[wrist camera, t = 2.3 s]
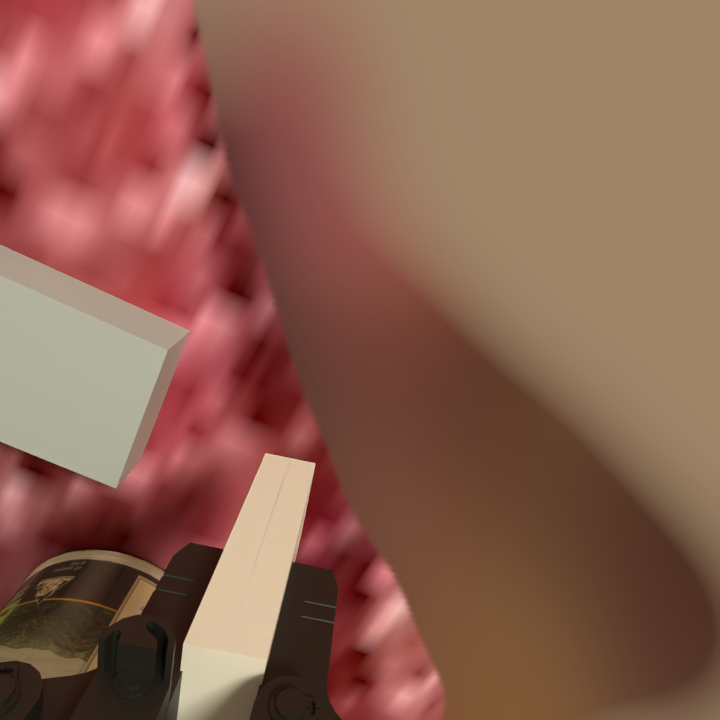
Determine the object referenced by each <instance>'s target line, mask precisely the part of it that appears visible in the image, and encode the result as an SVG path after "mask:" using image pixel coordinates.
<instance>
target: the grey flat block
mask: <svg viewBox="0 0 720 720" xmlns="http://www.w3.org/2000/svg"><path fill="white" fill-rule="evenodd" d="M189 333H190V331H189V330H187V329H185V328H182V327H180V326H178V325H176V324H174V323H171V322H169V321H167V320H165V319H163V318H160V317H158V316H156V315H154V314H152V313H149V312H147V311H145V310H143V309H141V308H138V307H136V306H134V305H132V304H130V303H127V302H125V301H123V300H121V299H119V298H116V297H114V296H112V295H110V294H108V293H105V292H103V291H101V290H99V289H97V288H94V287H92V286H90V285H88V284H86V283H83V282H81V281H79V280H77V279H75V278H72V277H70V276H68V275H66V274H64V273H61V272H59V271H57V270H55V269H53V268H50V267H48V266H46V265H44V264H42V263H40V262H37V261H35V260H33V259H31V258H29V257H26V256H24V255H22V254H20V253H18V252H15V251H13V250H11V249H9V248H7V247H4V246H2V245H0V442H3V443H5V444H7V445H10V446H12V447H15V448H17V449H20V450H22V451H25V452H27V453H30V454H32V455H34V456H37V457H39V458H42V459H44V460H47V461H49V462H52V463H54V464H57V465H59V466H61V467H64V468H66V469H69V470H71V471H74V472H76V473H79V474H81V475H84V476H86V477H88V478H91V479H93V480H96V481H98V482H101V483H103V484H106V485H108V486H111V487H113V488H115V489H116V488H117V487H118V486H119V484H120V483H121V482H122V481H123V480H124V478H125V477H126V476H127V475H128V473H129V472H130V471H131V470H132V469H133V467H134V466H135V465H136V464H137V463H138V461H139V460H140V459H141V458H142V455H143V453H144V450H145V447H146V445H147V442H148V440H149V437H150V434H151V432H152V429H153V427H154V424H155V421H156V419H157V416H158V414H159V411H160V408H161V406H162V403H163V401H164V398H165V395H166V393H167V390H168V388H169V385H170V382H171V380H172V377H173V375H174V372H175V370H176V367H177V364H178V362H179V359H180V357H181V354H182V351H183V349H184V346H185V344H186V341H187V338H188V336H189Z"/></svg>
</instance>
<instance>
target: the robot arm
mask: <svg viewBox="0 0 720 720" xmlns="http://www.w3.org/2000/svg"><path fill="white" fill-rule="evenodd" d="M314 468H315V463H311V462H306V461H301V460H296V459H292V458H287V457H282V456H277V455H272V454H267V453H266V454H265V456H264V458H263V461H262V463H261V465H260V468H259V470H258V472H257V474H256V477H255V479H254V481H253V484H252V486H251V488H250V491H249V493H248V495H247V498H246V500H245V502H244V504H243V507H242V509H241V511H240V514H239V516H238V518H237V521H236V523H235V525H234V528H233V530H232V532H231V534H230V537H229V539H228V541H227V544H226V546H225V548H224V549H219V548H214V547H209V546H204V545H199V544H194V543H189V544H188V545H186V546H185V547H184V548H183V549H181V550H180V551H179V552H178V553H176V554H175V555H174V556H173V557H172V559H171V561H170V563H169V564H168V566H167V568H166V570H165V572H164V574H163V576H162V577H161V579H160V581H159V582H158V584H157V586H156V589H155V591H153V593H152V595H151V597H150V599H149V600H148V602H147V604H146V606H145V608H144V609H143V611H142V613H141V615H134V616H130V617H127V618H123V619H121V620H119V621H117V622H116V623H114V624H112V625H111V626H109V627H108V628H107V629H106V630H105V631H104V632H103V634H102V635H101V636H100V637H99V638H98V660H97V668H96V669H93V670H91V671H88V672H86V673H81V674H76V675H71V676H62V677H54V678H45V679H41V675H40V672H39V671H38V670H37V669H36V668H35V667H33V666H32V665H31V664H29V663H25V662H20V661H8V662H0V720H342V719H341V718H340V717H339V716H338V715H337V714H336V712H335V711H334V709H333V707H332V705H331V703H330V701H329V697H328V693H327V678H328V669H329V661H330V653H331V644H332V636H333V628H334V619H335V611H336V602H337V594H338V585H337V582H336V580H335V577H334V574H333V571H332V570H330V569H325V568H321V567H316V566H311V565H306V564H301V563H296V562H295V559H296V555H297V550H298V546H299V542H300V538H301V533H302V528H303V523H304V518H305V513H306V508H307V503H308V498H309V493H310V488H311V483H312V478H313V473H314Z"/></svg>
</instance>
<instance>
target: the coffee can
mask: <svg viewBox="0 0 720 720" xmlns="http://www.w3.org/2000/svg"><path fill="white" fill-rule="evenodd" d="M163 574H164V571H163V570H161V569H159V568H158V567H156V566H154V565H153V564H151V563H149V562H147V561H144V560H141V559H138V558H136V557H133V556H131V555H127V554H123V553H120V552H114V551H108V550H78V551H71V552H67V553H64V554H61V555H58V556H56V557H53V558H51V559H49V560H47V561H46V562H44V563H42V564H41V565H39V566H38V567H37V568H36V569H35V570H34V571H33V572H32V573H31V574H30V575H29V576H28V577H27V578H26V580H25V581H24V582H23V584H22V586H21V587H20V589H19V590H18V591H17V592H16V593H15V595H14V596H13V597H12V598H11V599H10V601H9V602H8V603H7V604H6V606H5V607H4V608H3V609H2V610H1V611H0V662H8V661H20V662H25V663H29V664H31V665H32V666H33V667H35V668H36V669H37V670H38V671H39V672H40V675H41V679H45V678H54V677H62V676H71V675H76V674H81V673H86V672H88V671H91V670H93V669H96V668H97V660H98V638H99V637H100V636H101V635H102V634H103V632H104V631H105V630H106V629H107V628H108V627H109V626H111V625H112V624H114V623H116V622H117V621H119V620H121V619H123V618H127V617H130V616H134V615H141V613H142V611H143V609H144V608H145V606H146V604H147V602H148V600H149V599H150V597H151V595H152V593H153V591H155V589H156V586H157V584H158V582H159V581H160V579H161V577H162V576H163Z"/></svg>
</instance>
